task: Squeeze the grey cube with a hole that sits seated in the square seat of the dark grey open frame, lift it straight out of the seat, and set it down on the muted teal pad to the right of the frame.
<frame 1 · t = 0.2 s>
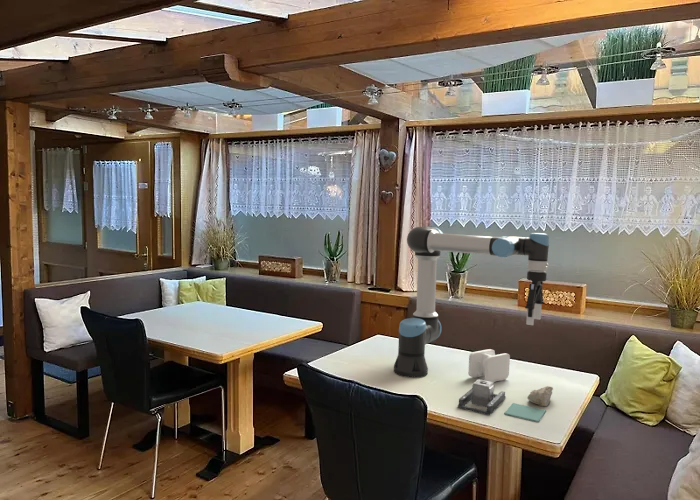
hand: (533, 322, 218), 28 cm above the table, fingers open, 13 cm apart
dark grey open frame: (482, 403, 201), on the table
cable organizer: (488, 379, 230), on the table
pad: (525, 412, 192), on the table
stone: (539, 402, 204), on the table
grey cube with hole: (482, 403, 201), resting in dark grey open frame
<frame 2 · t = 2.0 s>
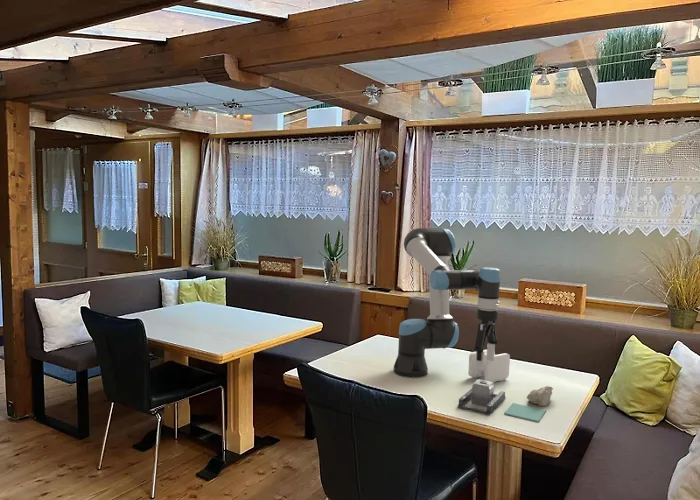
hand: (484, 364, 200), 15 cm above the table, fingers open, 13 cm apart
nothing on the table moved.
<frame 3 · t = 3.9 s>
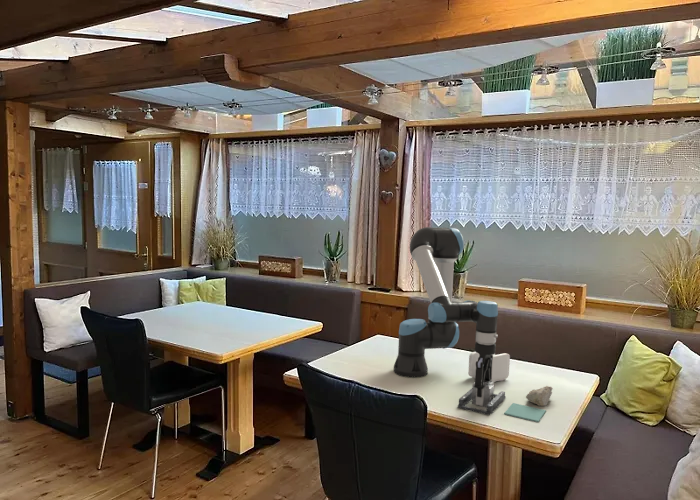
hand: (482, 401, 201), 0 cm above the table, fingers closed on grey cube with hole, 6 cm apart
grey cube with hole: (482, 403, 201), resting in dark grey open frame, touching gripper
everything else where it was.
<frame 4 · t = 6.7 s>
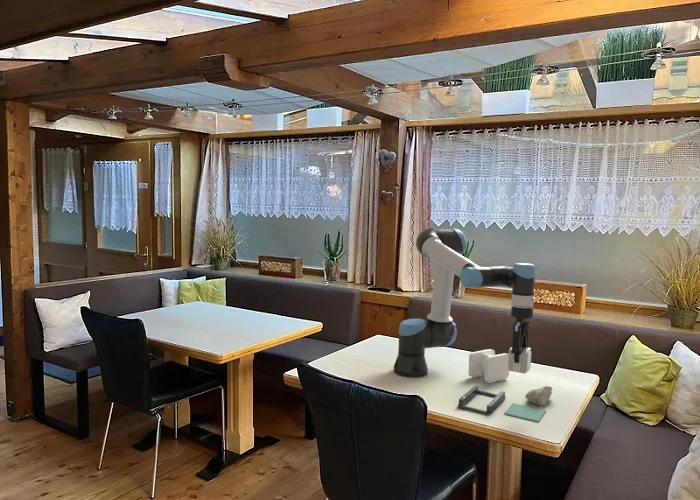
hand: (519, 369, 192), 16 cm above the table, fingers closed on grey cube with hole, 6 cm apart
grey cube with hole: (519, 370, 192), point 16 cm above the table, touching gripper
everything else where it was.
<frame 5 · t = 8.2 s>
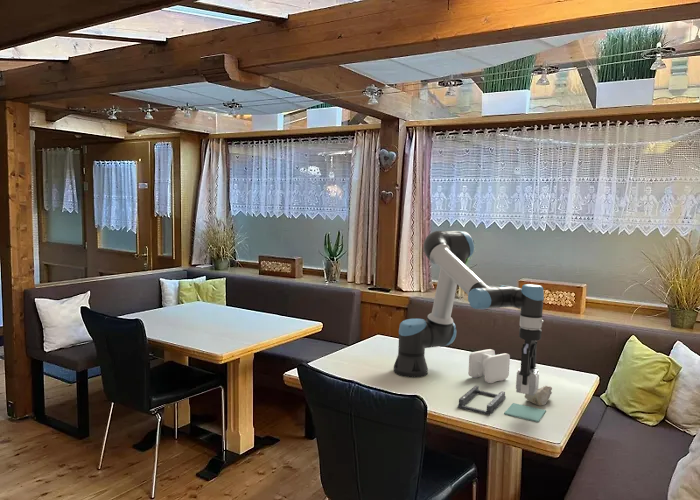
hand: (526, 390, 191), 8 cm above the table, fingers closed on grey cube with hole, 6 cm apart
grey cube with hole: (526, 391, 192), point 8 cm above the table, touching gripper
everything else where it was.
when the fingers open (3 cm above the table, at t = 9.5 s): grey cube with hole drops 2 cm, resting on pad.
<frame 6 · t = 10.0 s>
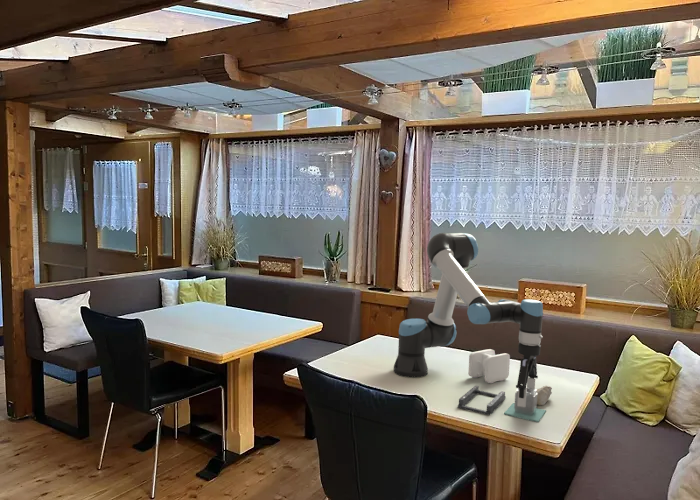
hand: (525, 400, 192), 5 cm above the table, fingers open, 13 cm apart
grey cube with hole: (525, 411, 192), resting on pad
everything else where it was.
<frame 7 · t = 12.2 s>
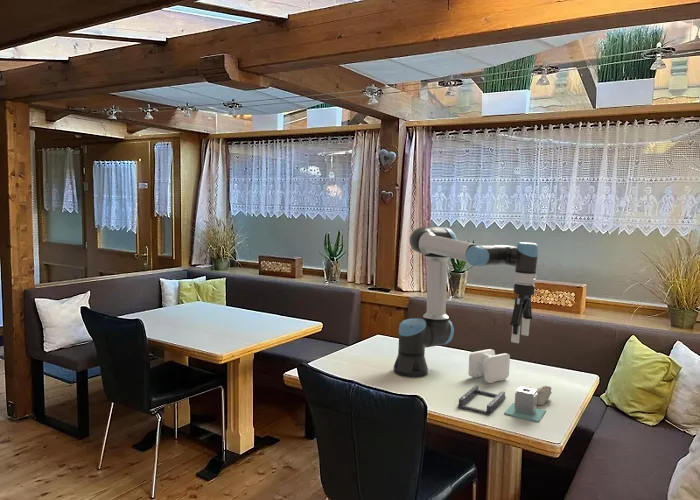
hand: (520, 338, 201), 25 cm above the table, fingers open, 13 cm apart
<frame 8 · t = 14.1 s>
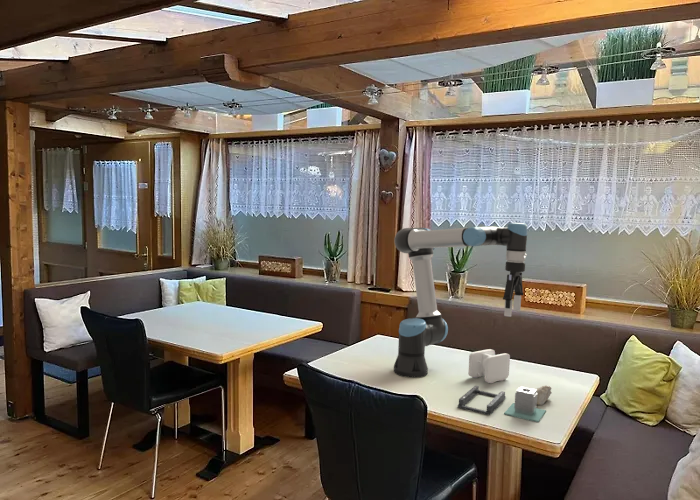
hand: (512, 313, 214), 32 cm above the table, fingers open, 13 cm apart
at the end: grey cube with hole 0.0 cm from the pad (horizontally); grey cube with hole point 0.5 cm above the table; grey cube with hole tilted 0° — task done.
